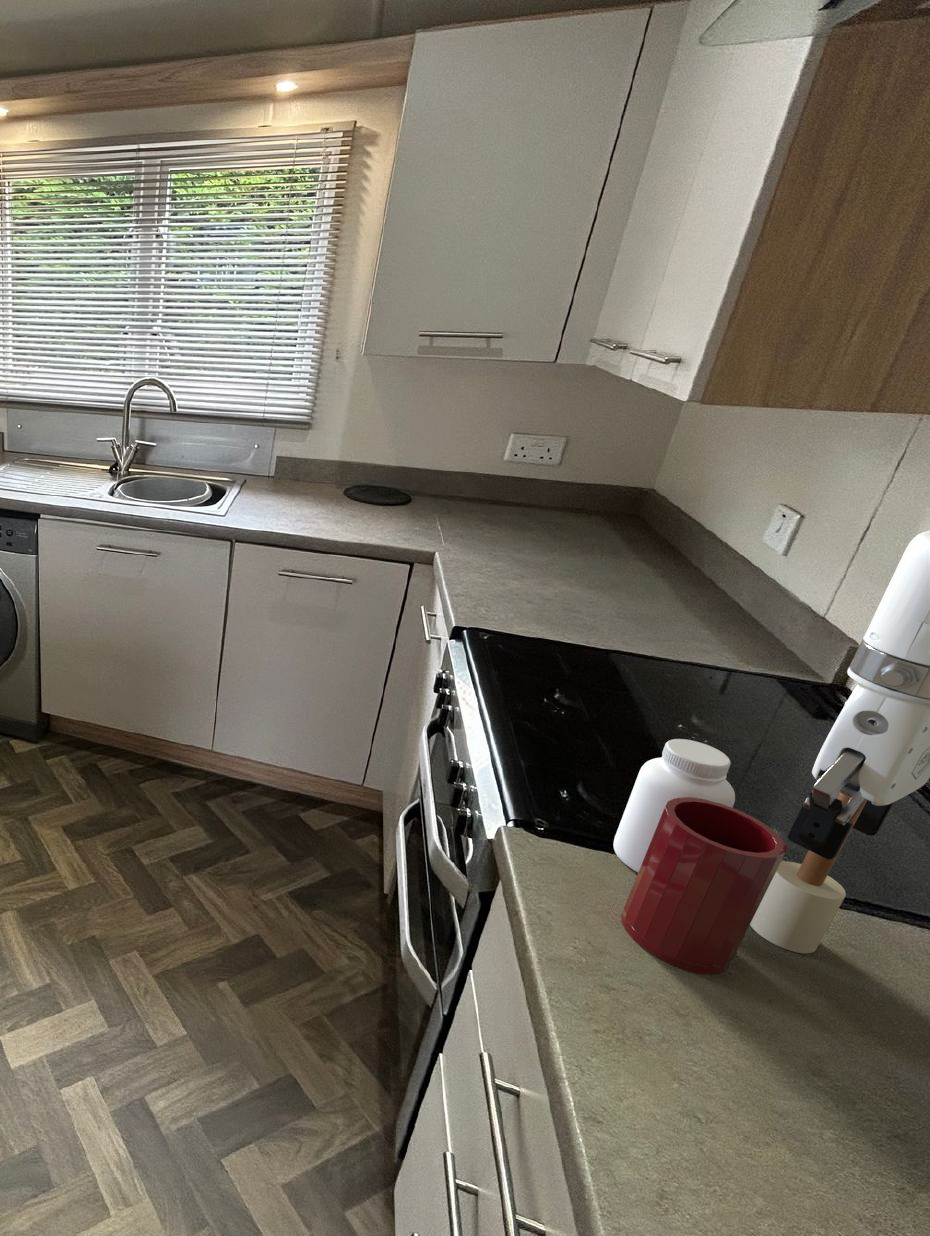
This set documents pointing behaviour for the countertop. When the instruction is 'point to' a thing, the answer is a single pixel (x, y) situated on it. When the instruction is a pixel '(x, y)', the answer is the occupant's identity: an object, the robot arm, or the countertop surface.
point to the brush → (801, 900)
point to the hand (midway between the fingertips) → (831, 836)
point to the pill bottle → (670, 792)
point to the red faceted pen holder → (701, 884)
